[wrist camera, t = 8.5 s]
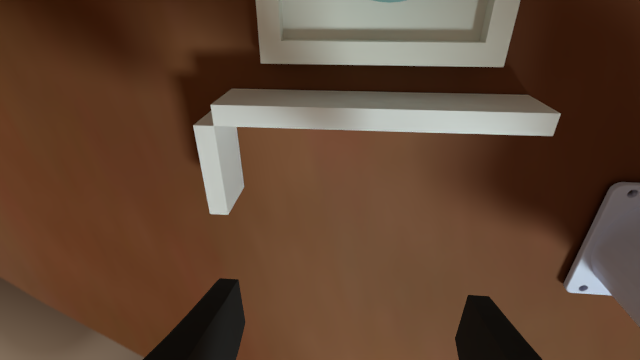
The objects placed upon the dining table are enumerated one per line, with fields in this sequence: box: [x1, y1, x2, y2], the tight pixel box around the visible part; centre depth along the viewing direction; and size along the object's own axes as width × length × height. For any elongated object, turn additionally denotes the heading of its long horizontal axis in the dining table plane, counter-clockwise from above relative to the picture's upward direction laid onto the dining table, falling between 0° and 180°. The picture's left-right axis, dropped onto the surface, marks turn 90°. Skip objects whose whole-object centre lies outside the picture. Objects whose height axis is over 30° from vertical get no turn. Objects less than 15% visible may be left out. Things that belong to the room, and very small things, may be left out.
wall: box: [193, 89, 561, 215], centre depth 17 cm, size 16×6×3 cm, turn 90°
